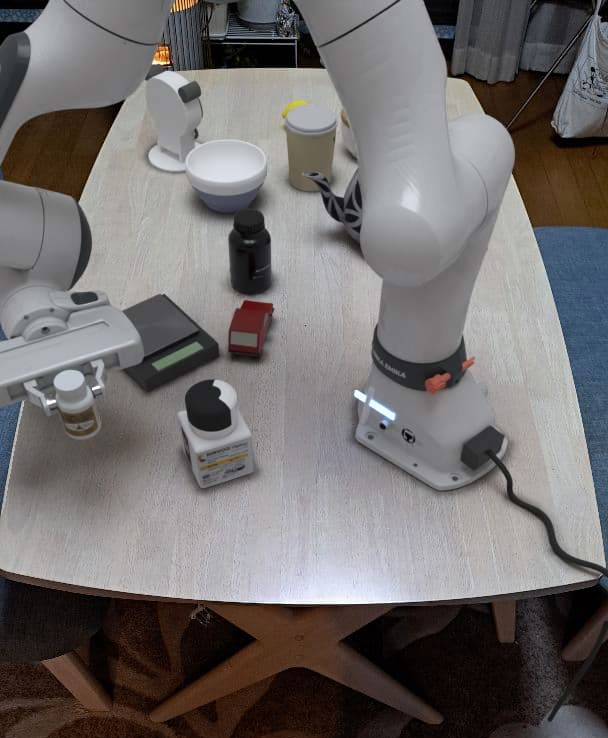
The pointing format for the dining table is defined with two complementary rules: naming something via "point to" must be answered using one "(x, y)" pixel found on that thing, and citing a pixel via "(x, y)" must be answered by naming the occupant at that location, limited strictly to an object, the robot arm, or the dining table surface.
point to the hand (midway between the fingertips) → (77, 402)
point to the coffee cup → (310, 143)
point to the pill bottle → (76, 405)
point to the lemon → (291, 106)
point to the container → (215, 433)
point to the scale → (167, 342)
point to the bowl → (226, 173)
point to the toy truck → (249, 328)
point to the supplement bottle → (250, 252)
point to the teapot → (342, 202)
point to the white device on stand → (173, 117)
